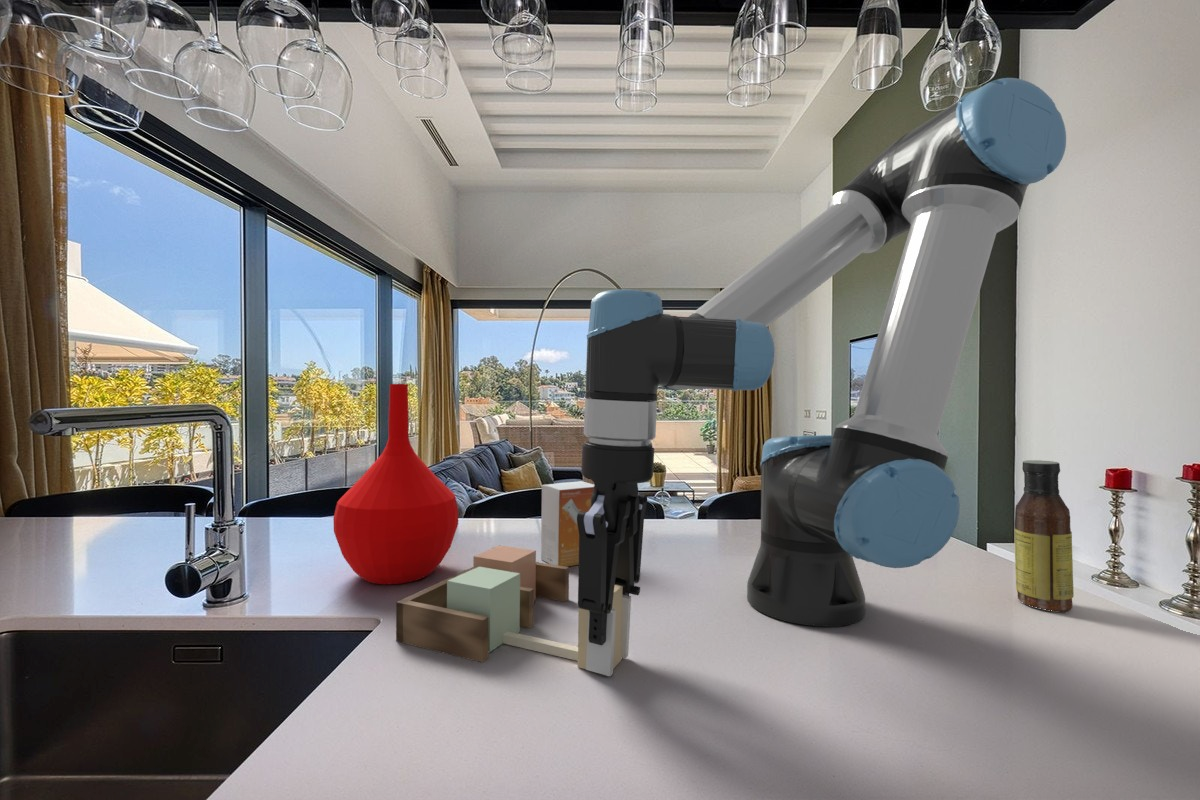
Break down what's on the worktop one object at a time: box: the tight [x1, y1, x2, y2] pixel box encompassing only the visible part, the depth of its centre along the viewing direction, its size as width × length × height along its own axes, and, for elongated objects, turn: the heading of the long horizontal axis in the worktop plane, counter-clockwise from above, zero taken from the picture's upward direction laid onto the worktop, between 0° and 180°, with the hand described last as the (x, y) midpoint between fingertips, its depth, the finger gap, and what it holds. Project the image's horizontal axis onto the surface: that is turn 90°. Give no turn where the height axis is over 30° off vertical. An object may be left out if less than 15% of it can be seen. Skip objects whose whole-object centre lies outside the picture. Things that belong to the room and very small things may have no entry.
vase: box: [332, 383, 459, 585], centre depth 87 cm, size 18×18×30 cm
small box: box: [540, 480, 594, 567], centre depth 95 cm, size 8×6×13 cm
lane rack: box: [395, 561, 570, 663], centre depth 71 cm, size 12×20×4 cm, turn 156°
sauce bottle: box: [1014, 459, 1075, 613], centre depth 77 cm, size 7×6×20 cm
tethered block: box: [447, 567, 623, 670], centre depth 63 cm, size 20×6×8 cm, turn 65°
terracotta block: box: [472, 544, 537, 602], centre depth 76 cm, size 6×6×7 cm
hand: (607, 661), depth 59 cm, fingers closed on tethered block, 3 cm apart
